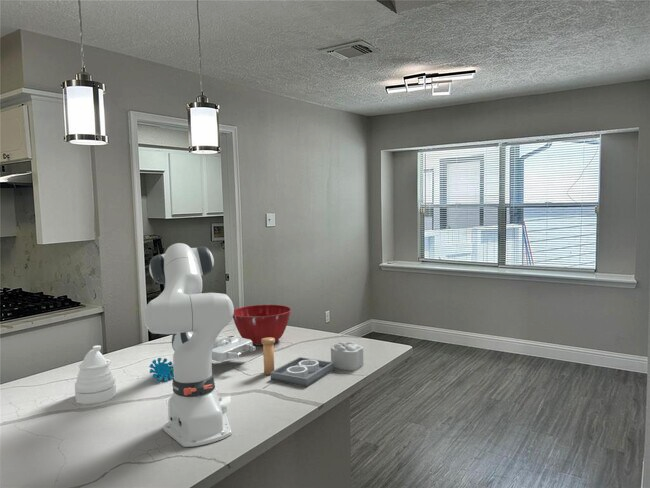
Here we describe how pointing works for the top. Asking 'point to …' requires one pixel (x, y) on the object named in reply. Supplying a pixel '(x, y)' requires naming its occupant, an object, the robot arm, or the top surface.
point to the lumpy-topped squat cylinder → (347, 356)
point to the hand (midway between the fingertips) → (247, 352)
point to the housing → (302, 371)
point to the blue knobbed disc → (162, 369)
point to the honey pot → (94, 379)
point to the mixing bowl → (261, 321)
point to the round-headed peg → (268, 354)
